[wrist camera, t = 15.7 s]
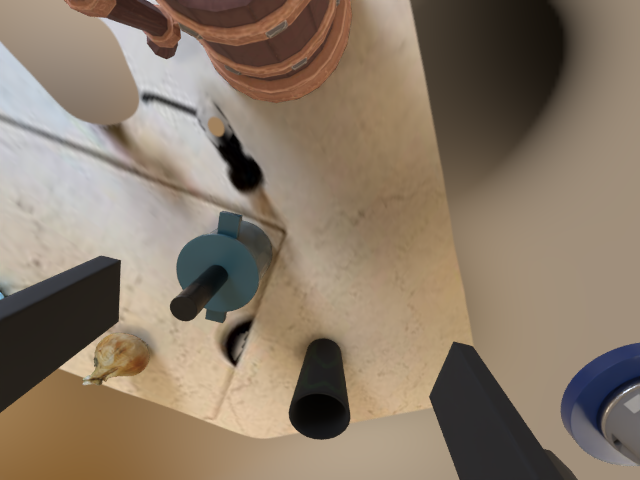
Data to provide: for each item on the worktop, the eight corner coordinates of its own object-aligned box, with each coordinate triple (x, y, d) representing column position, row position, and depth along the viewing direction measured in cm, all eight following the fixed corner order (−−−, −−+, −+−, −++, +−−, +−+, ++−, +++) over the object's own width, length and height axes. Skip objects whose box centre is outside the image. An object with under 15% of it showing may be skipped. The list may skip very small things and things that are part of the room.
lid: (267, 243, 35) (244, 274, 26) (253, 315, 38) (228, 364, 29) (185, 222, 35) (133, 246, 26) (177, 297, 38) (128, 340, 29)
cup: (304, 328, 47) (293, 386, 35) (351, 337, 47) (356, 398, 35) (297, 367, 49) (284, 433, 38) (342, 376, 49) (343, 445, 38)
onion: (156, 367, 51) (124, 405, 43) (111, 355, 51) (70, 391, 43) (161, 331, 49) (128, 364, 41) (114, 318, 48) (72, 349, 41)
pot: (281, 211, 42) (267, 225, 33) (263, 300, 46) (246, 332, 38) (217, 195, 42) (188, 206, 33) (205, 286, 46) (176, 315, 38)
